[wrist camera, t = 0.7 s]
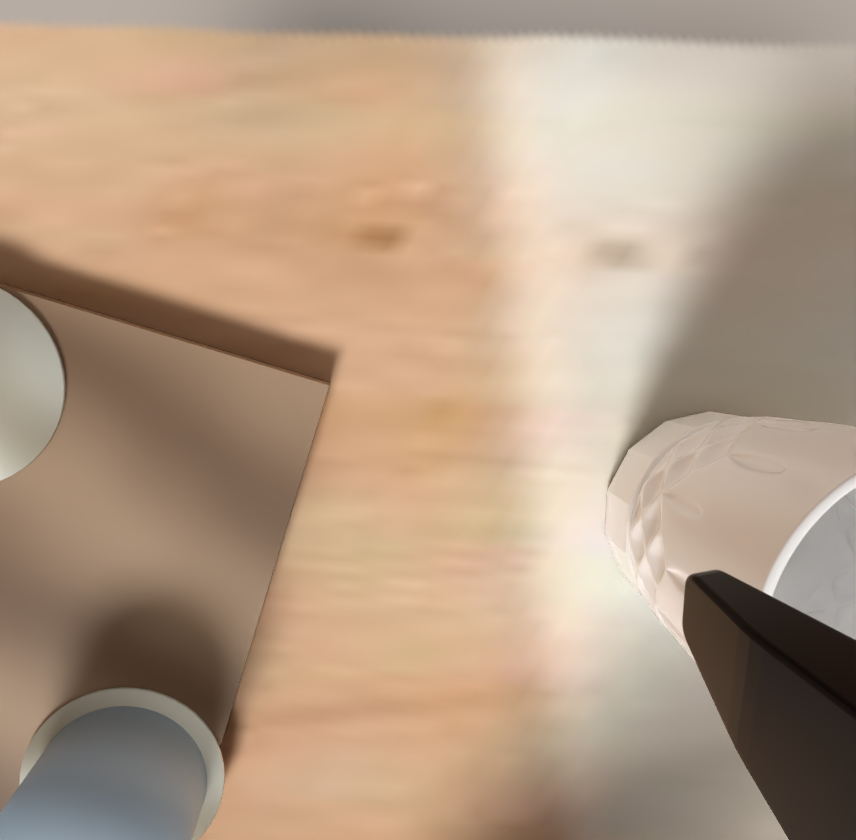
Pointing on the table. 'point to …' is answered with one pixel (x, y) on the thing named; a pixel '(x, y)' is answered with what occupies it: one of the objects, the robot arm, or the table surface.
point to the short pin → (111, 782)
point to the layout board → (135, 522)
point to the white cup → (739, 513)
